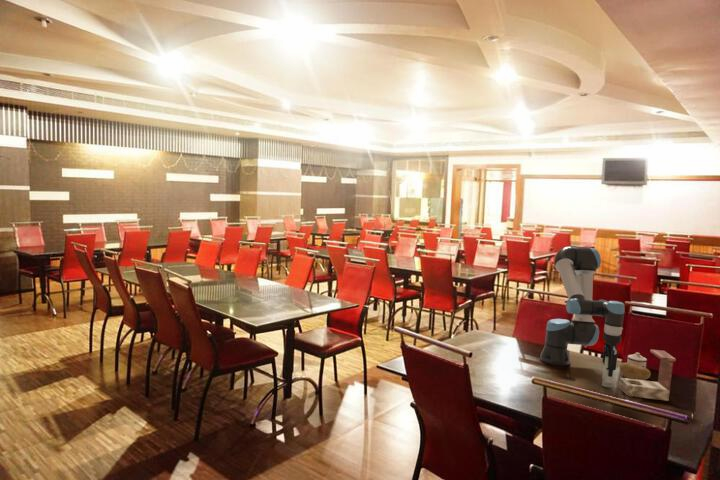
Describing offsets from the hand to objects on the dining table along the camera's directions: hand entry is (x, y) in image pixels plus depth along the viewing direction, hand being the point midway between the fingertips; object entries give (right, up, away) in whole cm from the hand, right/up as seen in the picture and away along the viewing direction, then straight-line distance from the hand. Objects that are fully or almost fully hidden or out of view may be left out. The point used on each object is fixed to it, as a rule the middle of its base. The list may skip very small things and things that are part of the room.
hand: (607, 380), depth 231 cm
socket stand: (+14, -5, -6) cm, 16 cm away
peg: (0, -3, 0) cm, 3 cm away
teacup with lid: (+27, -3, +23) cm, 35 cm away
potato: (+20, -4, +13) cm, 24 cm away
